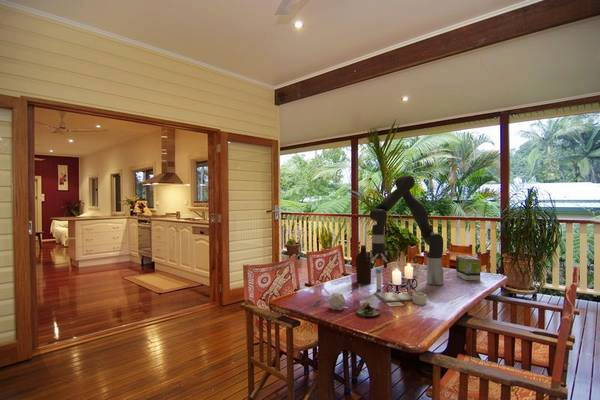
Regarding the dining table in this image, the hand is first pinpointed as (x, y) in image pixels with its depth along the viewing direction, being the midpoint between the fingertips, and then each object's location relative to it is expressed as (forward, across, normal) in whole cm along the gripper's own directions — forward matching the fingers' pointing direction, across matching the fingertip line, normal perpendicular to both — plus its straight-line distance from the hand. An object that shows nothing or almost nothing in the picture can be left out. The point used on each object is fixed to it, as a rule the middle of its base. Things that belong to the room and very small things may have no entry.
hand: (378, 268), depth 198 cm
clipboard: (+14, -5, +13) cm, 20 cm away
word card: (+14, +1, +25) cm, 28 cm away
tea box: (+14, -72, -17) cm, 75 cm away
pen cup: (+14, -13, +25) cm, 31 cm away
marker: (+14, 0, 0) cm, 14 cm away
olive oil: (+14, +2, -21) cm, 25 cm away
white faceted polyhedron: (+14, +33, +25) cm, 44 cm away
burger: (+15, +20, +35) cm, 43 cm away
